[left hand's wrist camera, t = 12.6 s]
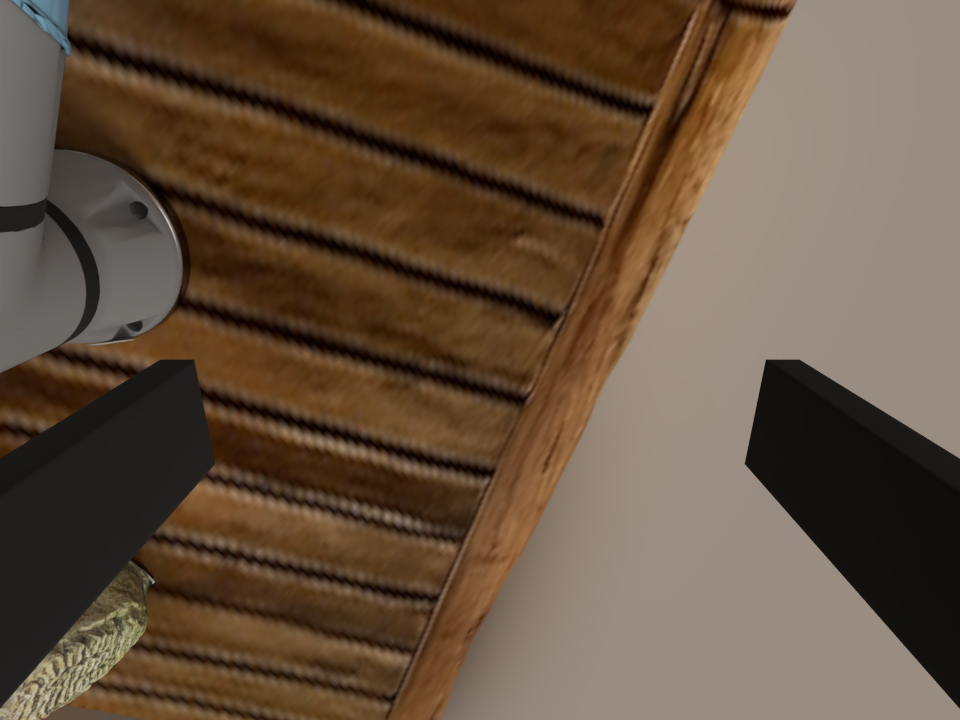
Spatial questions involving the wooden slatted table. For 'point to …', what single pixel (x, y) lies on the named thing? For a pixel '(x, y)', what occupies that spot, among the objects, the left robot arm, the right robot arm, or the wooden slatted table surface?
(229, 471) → the wooden slatted table surface
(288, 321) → the wooden slatted table surface
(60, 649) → the fossil
